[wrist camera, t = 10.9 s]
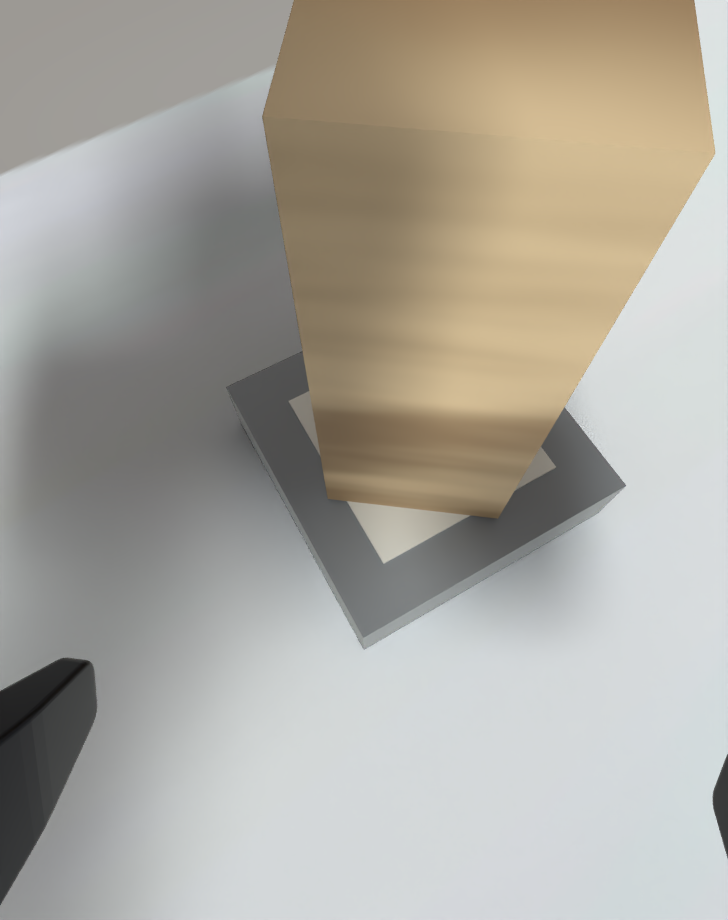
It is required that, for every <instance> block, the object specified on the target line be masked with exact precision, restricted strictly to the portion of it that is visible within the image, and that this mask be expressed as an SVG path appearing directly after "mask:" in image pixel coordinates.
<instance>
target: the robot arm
mask: <svg viewBox="0 0 728 920" xmlns="http://www.w3.org/2000/svg"><path fill="white" fill-rule="evenodd" d="M96 712H97V697H96V685H95V673H94V667H93V665H92V663H91V662H90V661H88V660H82V659H74V658H61V659H59V660H57V661H55V662H53V663H51V664H49V665H48V666H46V667H44V668H42V669H40V670H38V671H36V672H35V673H33V674H31V675H29V676H27V677H25V678H23V679H22V680H20V681H18V682H16V683H14V684H12V685H10V686H9V687H7V688H5V689H3V690H1V691H0V905H1V903H2V901H3V900H4V898H5V896H6V895H7V893H8V891H9V889H10V888H11V886H12V884H13V882H14V881H15V879H16V877H17V876H18V874H19V872H20V870H21V869H22V867H23V865H24V864H25V862H26V860H27V858H28V857H29V855H30V853H31V852H32V850H33V848H34V846H35V845H36V843H37V841H38V839H39V837H40V836H41V834H42V832H43V830H44V828H45V827H46V824H47V822H48V820H49V818H50V816H51V814H52V812H53V810H54V808H55V806H56V804H57V801H58V799H59V797H60V795H61V793H62V791H63V788H64V786H65V784H66V782H67V780H68V777H69V775H70V773H71V771H72V769H73V767H74V764H75V762H76V760H77V758H78V756H79V753H80V751H81V749H82V747H83V745H84V742H85V740H86V738H87V736H88V734H89V732H90V729H91V727H92V725H93V723H94V720H95V717H96ZM713 808H714V812H715V816H716V819H717V823H718V826H719V830H720V833H721V837H722V840H723V844H724V847H725V851H726V854H727V858H728V754H727V757H726V759H725V762H724V764H723V767H722V770H721V772H720V775H719V777H718V780H717V783H716V785H715V788H714V792H713Z"/></svg>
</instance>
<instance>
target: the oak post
mask: <svg viewBox="0 0 728 920" xmlns="http://www.w3.org/2000/svg"><path fill="white" fill-rule="evenodd" d="M262 117H263V123H264V129H265V135H266V141H267V147H268V152H269V158H270V164H271V170H272V176H273V182H274V188H275V193H276V199H277V205H278V211H279V217H280V223H281V228H282V234H283V240H284V246H285V252H286V258H287V263H288V269H289V275H290V281H291V287H292V293H293V299H294V304H295V310H296V316H297V322H298V328H299V334H300V339H301V345H302V351H303V357H304V363H305V369H306V375H307V380H308V386H309V392H310V398H311V404H312V410H313V415H314V421H315V427H316V433H317V439H318V445H319V451H320V456H321V462H322V468H323V474H324V480H325V486H326V491H327V497H328V499H333V500H341V501H350V502H358V503H367V504H376V505H384V506H393V507H402V508H410V509H419V510H428V511H436V512H445V513H453V514H462V515H471V516H479V517H488V518H497V519H498V518H499V516H500V514H501V513H502V511H503V509H504V508H505V506H506V504H507V503H508V501H509V499H510V498H511V496H512V494H513V492H514V491H515V489H516V487H517V486H518V484H519V482H520V481H521V479H522V477H523V476H524V474H525V472H526V471H527V469H528V467H529V466H530V464H531V462H532V461H533V459H534V457H535V456H536V454H537V452H538V451H539V449H540V447H541V445H542V444H543V442H544V440H545V439H546V437H547V435H548V434H549V432H550V430H551V429H552V427H553V425H554V424H555V422H556V420H557V419H558V417H559V415H560V414H561V412H562V410H563V409H564V407H565V405H566V403H567V402H568V400H569V398H570V397H571V395H572V393H573V392H574V390H575V388H576V387H577V385H578V383H579V382H580V380H581V378H582V377H583V375H584V373H585V372H586V370H587V368H588V367H589V365H590V363H591V361H592V360H593V358H594V356H595V355H596V353H597V351H598V350H599V348H600V346H601V345H602V343H603V341H604V340H605V338H606V336H607V335H608V333H609V331H610V330H611V328H612V326H613V325H614V323H615V321H616V319H617V318H618V316H619V314H620V313H621V311H622V309H623V308H624V306H625V304H626V303H627V301H628V299H629V298H630V296H631V294H632V293H633V291H634V289H635V288H636V286H637V284H638V283H639V281H640V279H641V277H642V276H643V274H644V272H645V271H646V269H647V267H648V266H649V264H650V262H651V261H652V259H653V257H654V256H655V254H656V252H657V251H658V249H659V247H660V246H661V244H662V242H663V241H664V239H665V237H666V236H667V234H668V232H669V230H670V229H671V227H672V225H673V224H674V222H675V220H676V219H677V217H678V215H679V214H680V212H681V210H682V209H683V207H684V205H685V204H686V202H687V200H688V199H689V197H690V195H691V194H692V192H693V190H694V188H695V187H696V185H697V183H698V182H699V180H700V178H701V177H702V175H703V173H704V172H705V170H706V168H707V167H708V165H709V163H710V162H711V160H712V158H713V157H714V155H715V147H714V140H713V132H712V125H711V118H710V111H709V104H708V96H707V89H706V82H705V75H704V68H703V60H702V53H701V46H700V39H699V31H698V24H697V17H696V10H695V3H694V0H294V2H293V6H292V10H291V13H290V17H289V20H288V24H287V28H286V31H285V35H284V39H283V43H282V46H281V50H280V53H279V57H278V61H277V64H276V68H275V72H274V75H273V79H272V83H271V86H270V90H269V94H268V97H267V101H266V105H265V108H264V112H263V116H262Z"/></svg>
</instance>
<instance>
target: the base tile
mask: <svg viewBox="0 0 728 920" xmlns="http://www.w3.org/2000/svg"><path fill="white" fill-rule="evenodd" d="M227 390H228V392H229V395H230V397H231V400H232V402H233V405H234V407H235V410H236V412H237V415H238V417H239V419H240V422H241V424H242V426H243V428H244V429H245V431H246V433H247V435H248V437H249V439H250V441H251V442H252V444H253V446H254V448H255V450H256V452H257V453H258V455H259V457H260V459H261V461H262V463H263V464H264V466H265V468H266V470H267V472H268V474H269V476H270V477H271V479H272V481H273V483H274V485H275V487H276V488H277V490H278V492H279V494H280V496H281V498H282V500H283V501H284V503H285V505H286V507H287V509H288V511H289V512H290V514H291V516H292V518H293V520H294V522H295V524H296V525H297V527H298V529H299V531H300V533H301V535H302V536H303V538H304V540H305V542H306V544H307V546H308V547H309V549H310V551H311V553H312V555H313V557H314V559H315V560H316V562H317V564H318V566H319V568H320V570H321V571H322V573H323V575H324V577H325V579H326V581H327V583H328V584H329V586H330V588H331V590H332V592H333V594H334V595H335V597H336V599H337V601H338V603H339V605H340V606H341V608H342V610H343V612H344V614H345V616H346V618H347V619H348V621H349V623H350V625H351V627H352V629H353V630H354V632H355V634H356V636H357V638H358V640H359V642H360V643H361V645H362V647H363V649H366V648H368V647H369V646H371V645H373V644H375V643H376V642H378V641H380V640H381V639H383V638H385V637H387V636H388V635H390V634H392V633H393V632H395V631H397V630H399V629H400V628H402V627H404V626H405V625H407V624H409V623H411V622H412V621H414V620H416V619H417V618H419V617H421V616H422V615H424V614H426V613H428V612H429V611H431V610H433V609H434V608H436V607H438V606H440V605H441V604H443V603H445V602H446V601H448V600H450V599H452V598H453V597H455V596H457V595H458V594H460V593H462V592H464V591H465V590H467V589H469V588H470V587H472V586H474V585H476V584H477V583H479V582H481V581H482V580H484V579H486V578H488V577H489V576H491V575H493V574H494V573H496V572H498V571H500V570H501V569H503V568H505V567H506V566H508V565H510V564H512V563H513V562H515V561H517V560H518V559H520V558H522V557H524V556H525V555H527V554H529V553H530V552H532V551H534V550H536V549H537V548H539V547H541V546H542V545H544V544H546V543H548V542H549V541H551V540H553V539H554V538H556V537H558V536H560V535H561V534H563V533H565V532H566V531H568V530H570V529H572V528H573V527H575V526H577V525H578V524H580V523H582V522H584V521H585V520H587V519H589V518H590V517H592V516H594V515H596V514H597V513H599V512H600V511H601V510H602V509H603V508H604V507H605V506H606V505H607V504H608V503H609V502H610V501H611V500H612V499H613V498H614V497H615V496H616V495H617V494H618V493H619V492H620V491H621V490H622V489H623V488H624V487H625V486H626V485H625V484H624V482H623V481H622V480H621V478H620V477H619V476H618V475H617V473H616V472H615V471H614V470H613V468H612V467H611V466H610V464H609V463H608V462H607V461H606V459H605V458H604V457H603V456H602V454H601V453H600V452H599V450H598V449H597V448H596V447H595V445H594V444H593V443H592V442H591V440H590V439H589V438H588V436H587V435H586V434H585V433H584V431H583V430H582V429H581V428H580V426H579V425H578V424H577V422H576V421H575V420H574V419H573V417H572V416H571V415H570V414H569V412H568V411H567V410H566V408H565V407H564V409H563V410H562V412H561V414H560V415H559V417H558V419H557V420H556V422H555V424H554V425H553V427H552V429H551V430H550V432H549V434H548V435H547V437H546V439H545V440H544V442H543V444H542V445H541V447H540V449H539V451H538V452H537V454H536V456H535V457H534V459H533V461H532V462H531V464H530V466H529V467H528V469H527V471H526V472H525V474H524V476H523V477H522V479H521V481H520V482H519V484H518V486H517V487H516V489H515V491H514V492H513V494H512V496H511V498H510V499H509V501H508V503H507V504H506V506H505V508H504V509H503V511H502V513H501V514H500V516H499V518H498V519H497V518H488V517H479V516H471V515H462V514H453V513H445V512H436V511H428V510H419V509H410V508H402V507H393V506H384V505H376V504H367V503H358V502H350V501H341V500H333V499H328V497H327V491H326V486H325V480H324V474H323V468H322V462H321V456H320V451H319V445H318V439H317V433H316V427H315V421H314V415H313V410H312V404H311V398H310V392H309V386H308V380H307V375H306V369H305V363H304V357H303V351H302V352H300V353H298V354H296V355H294V356H292V357H289V358H287V359H285V360H283V361H281V362H279V363H277V364H274V365H272V366H270V367H268V368H266V369H264V370H262V371H260V372H257V373H255V374H253V375H251V376H249V377H247V378H245V379H243V380H240V381H238V382H236V383H234V384H232V385H230V386H228V387H227Z"/></svg>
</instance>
